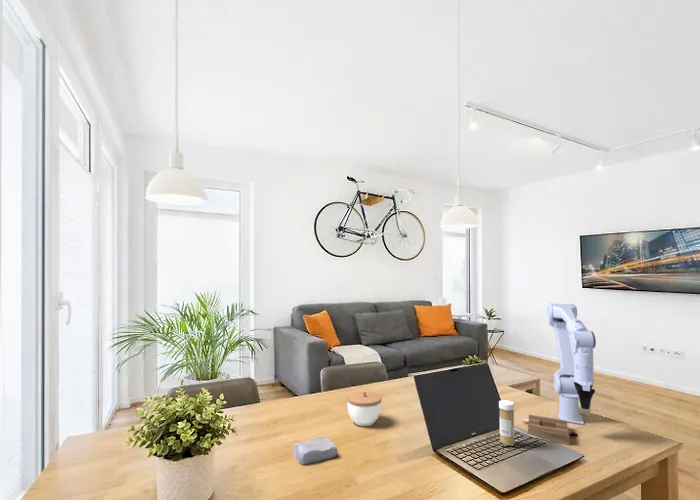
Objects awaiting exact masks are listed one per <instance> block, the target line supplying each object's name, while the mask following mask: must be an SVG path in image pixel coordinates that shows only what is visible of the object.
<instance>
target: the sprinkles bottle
mask: <svg viewBox="0 0 700 500" xmlns="http://www.w3.org/2000/svg"><path fill="white" fill-rule="evenodd" d="M498 408H499V442H500V441H501V442H502V443H503V444H506V445H511V446H513V445H514V443H515V423H514V422H515V420H514V419H515V416H514V415H515V414H514V413H515V412H514V411H515V403H514V402H513V401H512V400H511V401H510V400H505V399H502V400H499V401H498Z"/></svg>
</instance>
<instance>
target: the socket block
mask: <svg viewBox="0 0 700 500" xmlns="http://www.w3.org/2000/svg"><path fill="white" fill-rule="evenodd" d="M527 424H528V427H527V435H528V434H531V435H534V436H537V437H540V438H543V439H547V440H550V441H552V442H551V443H557V444H561V445H566V446H570V432H569V426H568V422H566V420H561V419H559V418H553V417H546V416H541V415H534V414H530V413H529V414H528V423H527ZM550 441H549V442H550Z"/></svg>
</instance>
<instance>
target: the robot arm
mask: <svg viewBox="0 0 700 500" xmlns="http://www.w3.org/2000/svg"><path fill="white" fill-rule="evenodd" d="M546 307H547V308H546V309H547V310H546V315H547V323H548V325H549V326H551V327H552V328H553V329H554V333H555V339H556V347H557V353H558V360H559V366H560V368H559V369H557V370H556V371H555V372H554V374H553V387H554V390H555V392H556V394H558V395H559V396H558V397H559V398H558V399H559V400H558V403H559V405H558V406H559V410H558V411H557V417H558V419H561V420H566V422H567V423H572V424H578V425H585V423H584V420H583V416H582V415H580V414H579V406H578V395H579V399H580V405H581V408H582V409H588V410H589V407H590V403H591V400H592V399H593V396H594V395H595V393H596V389H595V388H593V386H594V384H595V379H594V378H595V377H594V376H595V375H594V373H595V372H594V349H595V348H596V346H597V338H596V334H595V332H594V330H589V329H588V328H587V327H586V325H585V324H584V323H583V321H581V319H579V318H578V319H577V317H578V308H577V305H576V304H574V303H569V304H568V303H551V302H550V303H548V304H547V306H546Z"/></svg>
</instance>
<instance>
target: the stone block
mask: <svg viewBox="0 0 700 500" xmlns="http://www.w3.org/2000/svg"><path fill="white" fill-rule="evenodd" d="M337 455H338V448H337V446H336V445H335V444H334V443H333V442H332V440H331V439H330V438H326V437H318V438H313V439H310V440H308V441H304V442H303V441H302V442H294V443H293V447H292V456H293V458H295V460H297V461H298V463H300V465H301V466H306V465H309V464H313V463H318V462H322V461H325V460H330V459H333V458H335V457H336V456H337Z"/></svg>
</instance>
